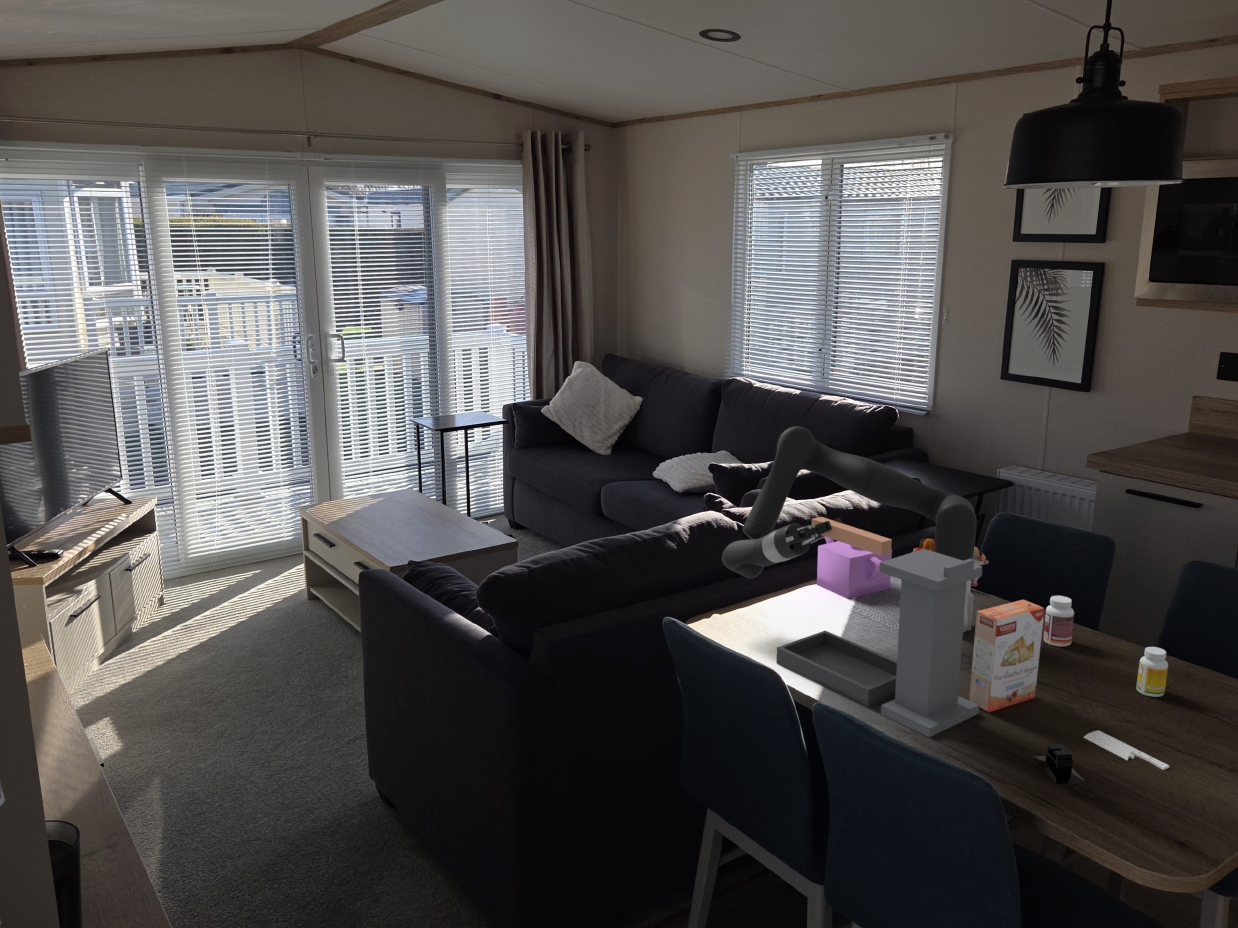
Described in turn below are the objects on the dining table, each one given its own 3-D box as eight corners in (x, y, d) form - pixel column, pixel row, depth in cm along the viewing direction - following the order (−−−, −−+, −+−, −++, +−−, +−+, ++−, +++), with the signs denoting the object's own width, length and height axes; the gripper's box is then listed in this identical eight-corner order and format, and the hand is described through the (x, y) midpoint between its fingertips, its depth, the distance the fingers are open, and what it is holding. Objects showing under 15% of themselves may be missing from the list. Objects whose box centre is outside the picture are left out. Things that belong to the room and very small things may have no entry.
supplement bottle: (1130, 689, 212) (1135, 648, 210) (1147, 684, 214) (1152, 643, 212) (1153, 699, 207) (1158, 657, 205) (1170, 694, 209) (1175, 652, 207)
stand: (869, 708, 205) (877, 554, 197) (918, 687, 214) (927, 538, 206) (929, 737, 193) (939, 574, 185) (978, 713, 202) (990, 557, 194)
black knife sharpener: (1023, 755, 187) (1025, 733, 186) (1060, 753, 188) (1062, 731, 187) (1056, 791, 175) (1058, 767, 174) (1095, 788, 176) (1098, 765, 175)
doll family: (987, 584, 274) (990, 539, 271) (979, 595, 266) (982, 549, 263) (911, 571, 285) (914, 528, 282) (901, 581, 278) (904, 537, 275)
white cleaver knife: (1150, 776, 179) (1151, 771, 179) (1080, 740, 192) (1081, 735, 192) (1169, 769, 181) (1169, 763, 181) (1098, 733, 195) (1099, 728, 194)
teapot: (840, 568, 290) (842, 522, 286) (902, 594, 268) (905, 545, 265) (800, 577, 282) (801, 531, 279) (860, 605, 261) (863, 555, 258)
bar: (811, 531, 221) (811, 518, 220) (820, 529, 222) (821, 516, 222) (881, 555, 205) (882, 541, 204) (890, 553, 206) (891, 539, 206)
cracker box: (990, 714, 202) (997, 619, 197) (967, 702, 207) (974, 609, 202) (1037, 699, 208) (1046, 606, 203) (1014, 687, 213) (1022, 597, 208)
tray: (776, 663, 227) (776, 647, 226) (824, 645, 236) (825, 630, 235) (867, 707, 206) (868, 689, 205) (916, 686, 215) (917, 669, 214)
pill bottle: (1076, 643, 235) (1081, 600, 233) (1061, 649, 232) (1065, 605, 229) (1053, 634, 240) (1057, 592, 238) (1037, 640, 237) (1041, 597, 234)
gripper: (758, 533, 227) (807, 512, 213) (801, 523, 235) (851, 502, 221) (768, 564, 226) (818, 545, 212) (811, 553, 233) (862, 534, 220)
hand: (835, 523), depth 216 cm, fingers closed on bar, 3 cm apart
